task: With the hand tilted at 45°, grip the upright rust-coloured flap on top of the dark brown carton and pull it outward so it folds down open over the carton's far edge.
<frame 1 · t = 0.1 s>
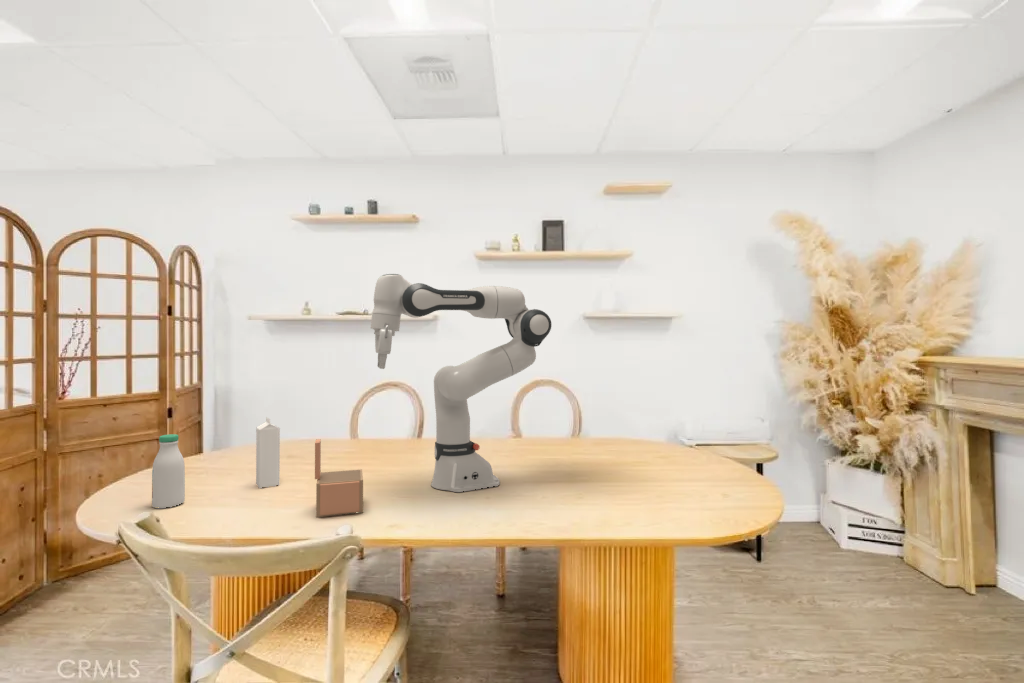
hand: (380, 368, 156), 39 cm above the table, tool pointing down, fingers open, 8 cm apart
flap: (317, 458, 138), point 14 cm above the table, hinge at 0.0°
milk bottle: (168, 505, 142), on the table
carton: (340, 507, 140), on the table
milk: (267, 485, 162), on the table
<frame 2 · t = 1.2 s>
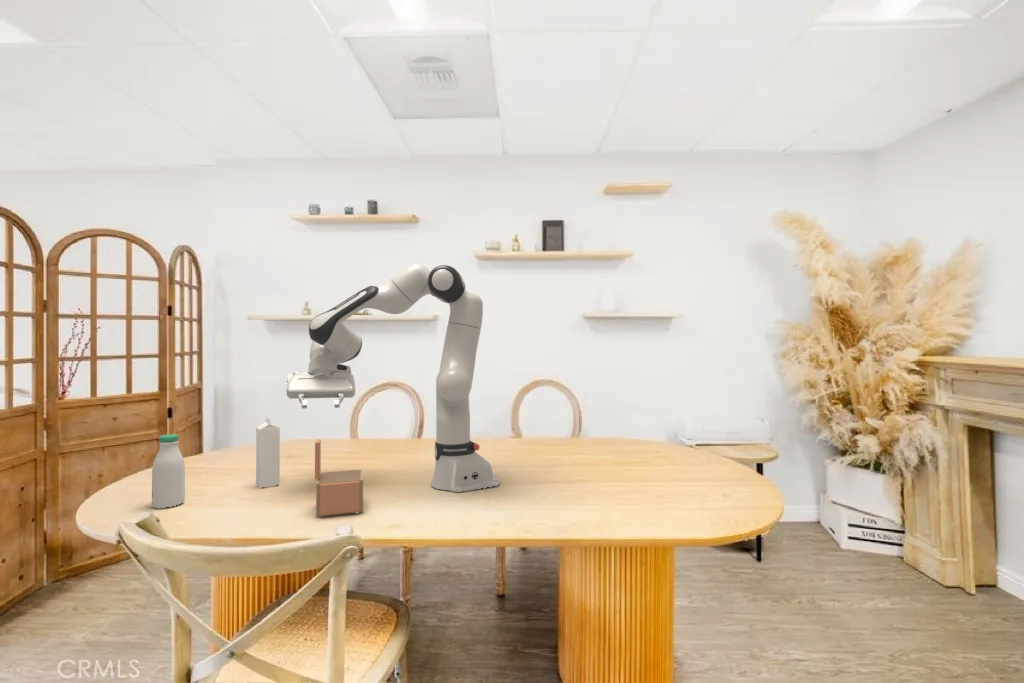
hand: (320, 406, 151), 27 cm above the table, tool tilted 45°, fingers open, 8 cm apart
nothing on the table moved.
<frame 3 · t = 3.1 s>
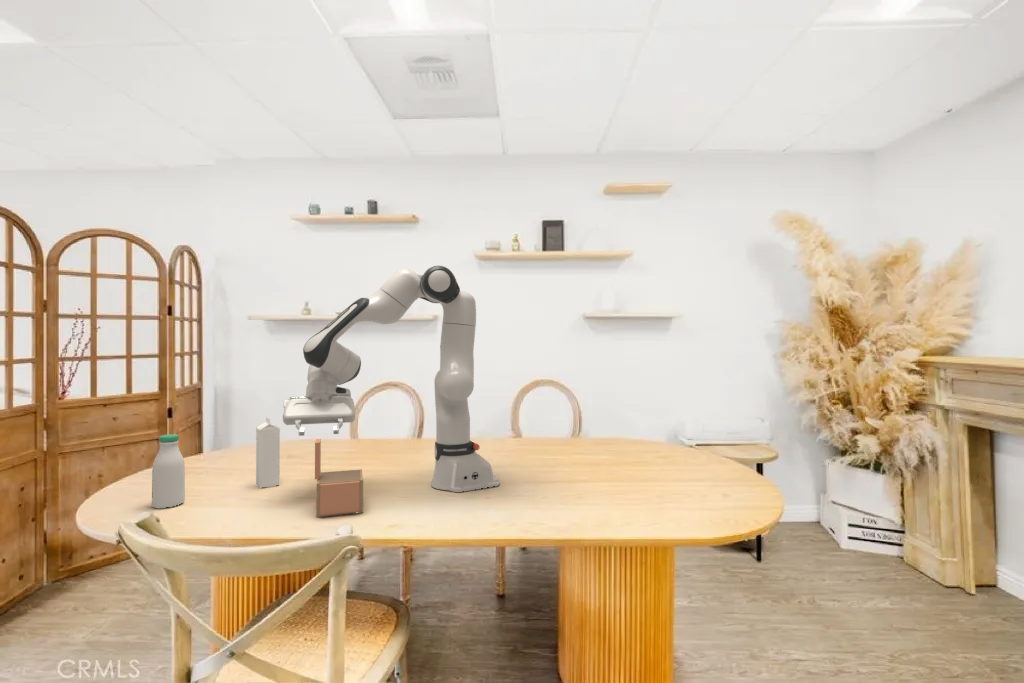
hand: (318, 433, 144), 20 cm above the table, tool tilted 45°, fingers open, 8 cm apart
nothing on the table moved.
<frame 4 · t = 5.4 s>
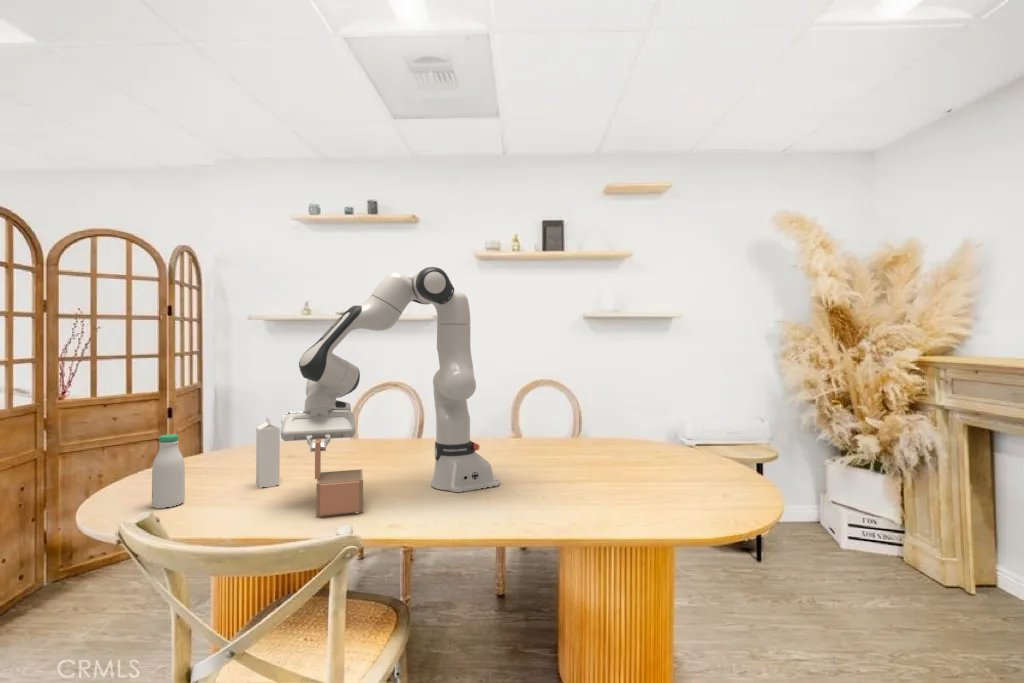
hand: (318, 450, 139), 16 cm above the table, tool tilted 45°, fingers closed on flap
flap: (317, 458, 138), point 14 cm above the table, hinge at 0.0°, touching gripper
everything else where it was.
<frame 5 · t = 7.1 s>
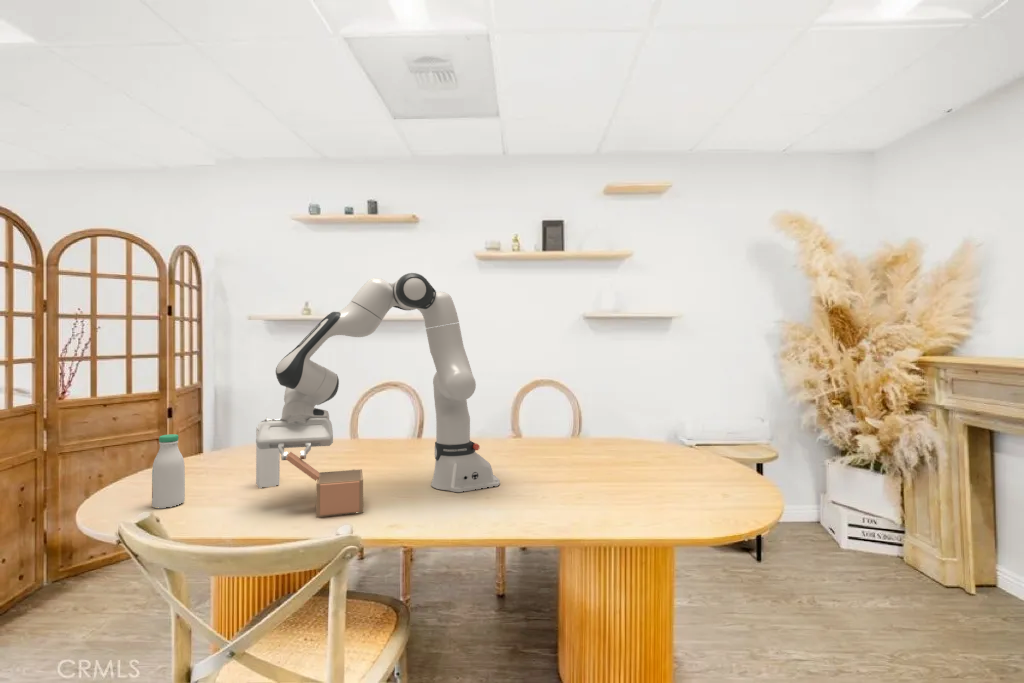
hand: (293, 458, 137), 15 cm above the table, tool tilted 45°, fingers closed on flap, 3 cm apart
flap: (303, 466, 136), point 13 cm above the table, hinge at 49.3°, touching gripper
everything else where it was.
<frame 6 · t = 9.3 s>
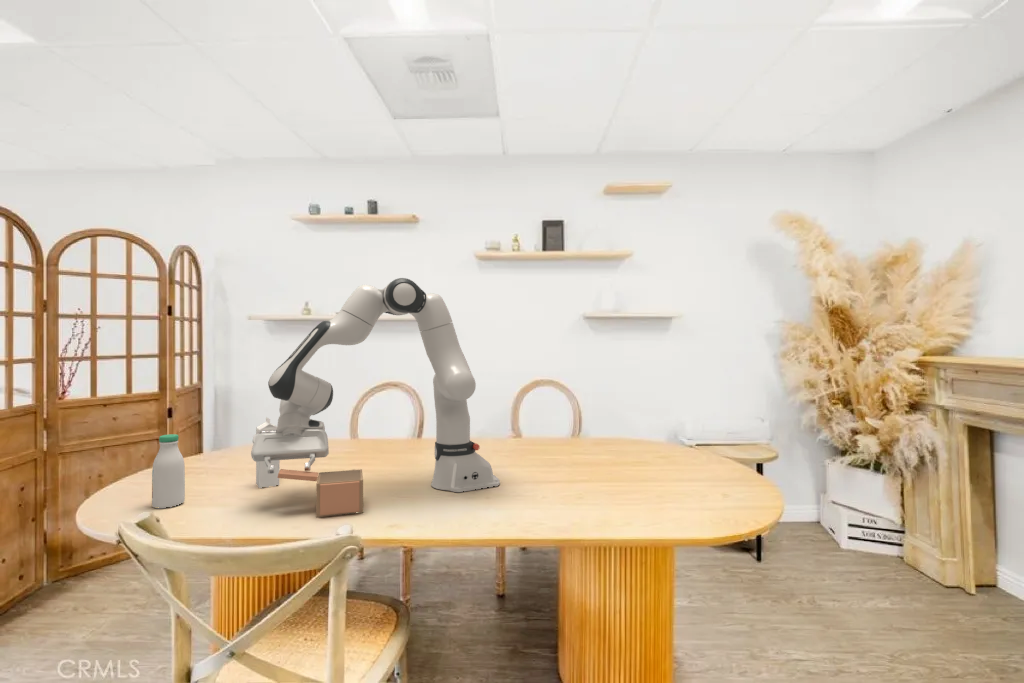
hand: (289, 471, 137), 11 cm above the table, tool tilted 45°, fingers open, 8 cm apart
flap: (298, 475, 136), point 10 cm above the table, hinge at 80.0°, touching gripper
everything else where it was.
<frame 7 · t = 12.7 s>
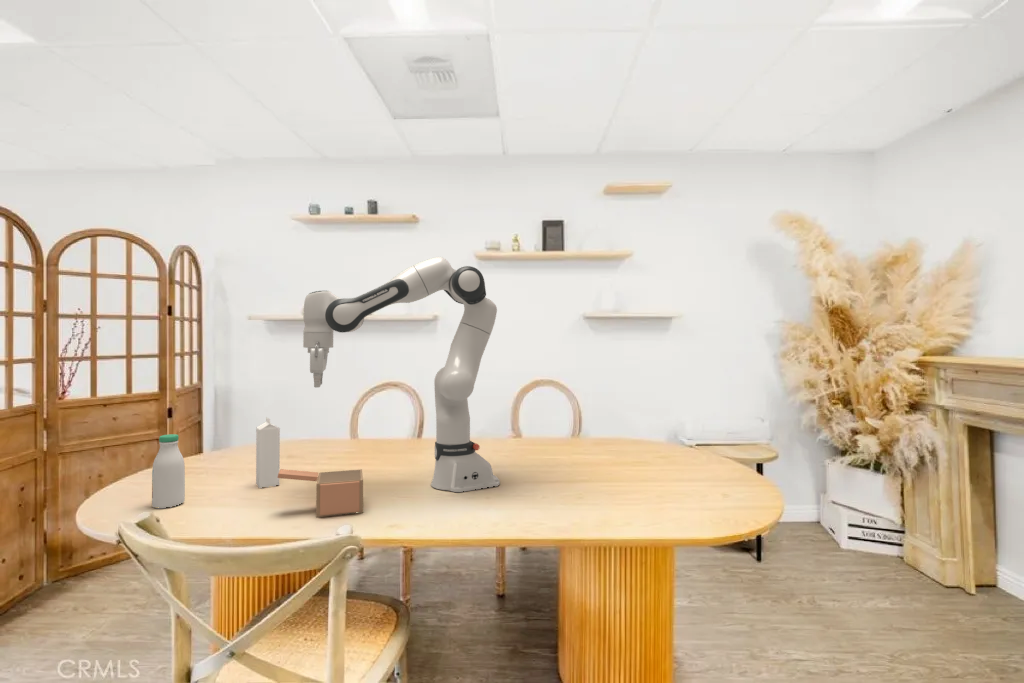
hand: (318, 386, 155), 33 cm above the table, tool pointing down, fingers open, 8 cm apart
flap: (298, 475, 136), point 10 cm above the table, hinge at 80.0°
everything else where it was.
at the end: flap at +80° (first picture: +0°); the gripper is holding nothing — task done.
